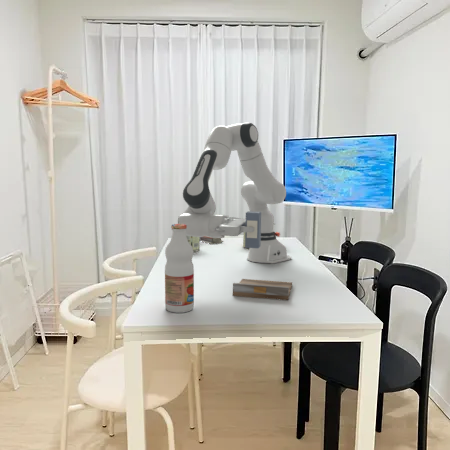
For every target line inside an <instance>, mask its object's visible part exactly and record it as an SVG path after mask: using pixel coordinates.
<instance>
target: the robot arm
mask: <svg viewBox="0 0 450 450" xmlns="http://www.w3.org/2000/svg"><path fill="white" fill-rule="evenodd" d="M258 140H259V132H258V128H257V127H256V125H254V124H253V123H252V122H243V123H233V124H231V125H227V126H225V125H217V126H215V127H213V129H212V130H211V131H210V133H209V135H208V137H207V139H206V142H205V146H204V149H203V152H202V154H201V155H200V157H199V159H198V162H197V164H196V167H195V169H194V172H193V174H192V177H191V178H190V180H189V181H188V183H187V184H185V186H184V188H183V192H182V198H183V200H184V202H185V203H186V204H187V205H188V207H187V208H186V209H185V210H184V212H183V213H182V214H179V216H178V219H177V224H186V225H187V230H186V235H187V236H194V237H203V236H207V237H211V238H221V239H224V238H225V236H226V237H238V236H240V235H241V234H242V233H243V234H244V232H253V231H254V227H245V226H246V219H245V218H243V217H242V218H241V217H234V216H233V217H232V216H229V215H225V214H215V212H216V210H217V209H216V203H215V199H214V198H213V195H212V193H211V191H210V187H209V186H210V185H209V182H210V179H211V175H212V173H213V171H219V170H222V169H224V168H226V167H227V165H228V163H229V160H230V157H231V155H232V154H231V153H232V152H233V151H234V152H235V151H237V156H238V158H239V163H240V165H241V168H242V170H243V173H244V176H246V177H247V178H248V179H249V180H247V181H245V182H244V183H243V184H242V186H241V188H240V194H241V197H242V198H243V199H244V201H245V202H246V204H247V206H248V210H249V211H251V212H261V246H260V247H259V248H248V254H247V258H246V260H247V261H249V262H253V263H260V264H261V263H263V264H276V263H281V262H284V261H285V262H286V261H289V260H292V256H291V255H288V252H287V247H286V246H285V244H283V243H282V242H281V241H279V239H277V237H280V236H281V232H278V231H276V232H275V231H274V227H275V226H274V225H275V223H274V221H275V218H274V214H273V213H272V212H271V211H270V209H269V206H268V205H276V204H277V205H278V204H281V203H283V202H284V200H285V199H286V197H287V189H286V187H285V185H284V184H283V183H281V182H280V181H279V180H277V179H276V177H275V176H274V175H273V173H272V172H271V171H270V169H269V166H268V165H267V162H266V160H265V156H264V153H263V151H262V148H261V146H260V143H259V141H258Z"/></svg>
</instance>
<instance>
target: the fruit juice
mask: <svg viewBox="0 0 450 450" xmlns="http://www.w3.org/2000/svg"><path fill="white" fill-rule="evenodd" d="M170 228H171V231H172V235H171V238H170V241H169V242H168V244H167V245H166V247H165V250H164V254H165V258H166V262H165V264H164V265H165V266H164V304H165V305H164V306H165V310H166V311H168V312H170V313H175V314H176V313H177V314H181V313H187V312H191V311H192V310H193V309H194V305H195V290H194V289H195V286H194V285H195V278H194V277H195V276H194V275H195V268H194V264H193V257H194V252H193V248H192V246H191V245H190V243H189V242H188V240H187V237H186V230H187V225H186V224H178V223H174V224H171V227H170Z"/></svg>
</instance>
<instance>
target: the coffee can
mask: <svg viewBox="0 0 450 450" xmlns="http://www.w3.org/2000/svg"><path fill="white" fill-rule="evenodd" d="M186 237H187V240H188V242H189V243H190V245H191V246H192V248H193V253H195V252H199V251H200V250H201V249H200V247H201V246H200V243H201V242H200V237H194V236H187V235H186Z"/></svg>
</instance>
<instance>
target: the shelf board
mask: <svg viewBox="0 0 450 450" xmlns="http://www.w3.org/2000/svg"><path fill="white" fill-rule="evenodd" d="M292 287H293V282H291V281H280V280H263V279H249V278H241V280H240V281H239V282H233V283H232V297H233V296H234V297H245V298H258V299H269V300H279V299H280V301H281V300H282V301H289V299H290V296H291V292H292V289H293V288H292Z"/></svg>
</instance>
